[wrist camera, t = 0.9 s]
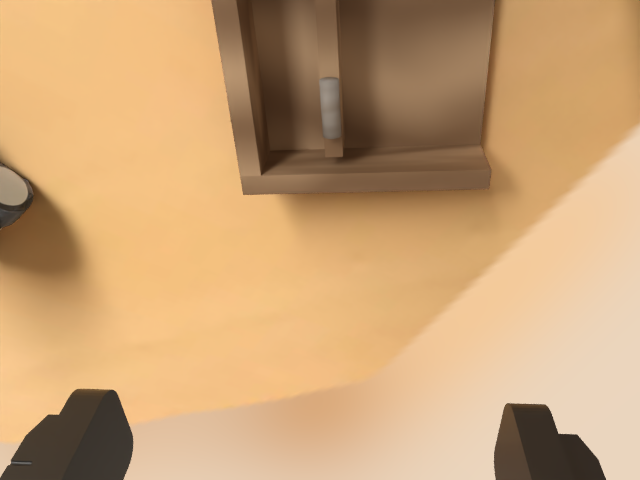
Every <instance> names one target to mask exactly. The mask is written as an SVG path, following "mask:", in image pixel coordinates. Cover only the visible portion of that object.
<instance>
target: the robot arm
mask: <svg viewBox="0 0 640 480" xmlns="http://www.w3.org/2000/svg"><path fill="white" fill-rule="evenodd" d="M132 451H133V436H132V432H131V429H130V426H129V424H128V421H127V418H126V416H125V413H124V410H123V408H122V405H121V402H120V400H119V397H118V395H117V393H116V391H114V390H102V389H77V390H75V391H74V392H73V393H72V394H71V395H70V397H69V398H68V400H67V402H66V404H65V405H64V407H63V409H62V411H61V412H60V414H59V415H47V416H46V417H45V418H44V419H43V420H42V421H41V422H40V423H39V424H38V425H37V426H36V427H35V428H34V429H33V430H31V431H30V432H29V433H28V434H27V435H26V436H25V438H24V440H23V441H22V443H21V445H20V446H19V448H18V450H17V451H16V453H15V455H14V456H13V458H12V459H11V464H10V465H8V466H7V468H6V469H5V471H4V473H3V474H2V476H1V478H0V480H123V479H124V476H125V474H126V471H127V469H128V467H129V464H130V460H131V457H132ZM494 468H495V477H496V480H606V478H605V476H604V473H603V471H602V468H601V466H600V463H599V460H598V459H597V458H596V456H595V455H594V454H593V453H592V452H591V450H590V449H589V448H588V447H587V446H586V445H585V443H584V442H583V441H582V440H581V439H580V438H579V436H578V435H572V434H558V431H557V428H556V426H555V423H554V420H553V417H552V414H551V411H550V410H549V408H548V407H547V406H546V405H542V404H510V403H507V404H506V405H505V407H504V411H503V415H502V420H501V424H500V428H499V433H498V437H497V442H496V446H495V452H494Z"/></svg>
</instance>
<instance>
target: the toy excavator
mask: <svg viewBox="0 0 640 480" xmlns="http://www.w3.org/2000/svg"><path fill="white" fill-rule="evenodd" d="M33 196H34V195H33V190H32V187H31V186H30V184H29V181H28V180H27V179H23V178H21V177H20V176H19V175H18V174H16V173H15V172H14V171H12V170H11V169H9V168H8V167H6V166H5V165H4V164H2V163H0V230H1V229H2V228H3V227H5V226H9V225H11V224H12V223H14V222H15V221H16V220H17V219H19V218H20V216H21V215H22V214H23V213H24V212H25V211H26V210H27V208H29V206H30V205H31V203H32V201H33Z"/></svg>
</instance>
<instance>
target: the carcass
mask: <svg viewBox="0 0 640 480" xmlns="http://www.w3.org/2000/svg"><path fill="white" fill-rule="evenodd" d="M211 1H212V7H213V13H214V19H215V25H216V31H217V37H218V43H219V50H220V56H221V62H222V68H223V74H224V80H225V86H226V92H227V98H228V105H229V111H230V117H231V123H232V129H233V135H234V141H235V147H236V153H237V160H238V166H239V172H240V178H241V184H242V190H243V195H258V194H302V193H345V192H389V191H432V190H476V189H489V186H490V177H491V168H490V165H489V163H488V161H487V158H486V156H485V154H484V151H483V149H482V147H481V144H480V143H481V133H482V123H483V113H484V104H485V94H486V84H487V74H488V65H489V55H490V45H491V35H492V26H493V16H494V6H495V0H211Z"/></svg>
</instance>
